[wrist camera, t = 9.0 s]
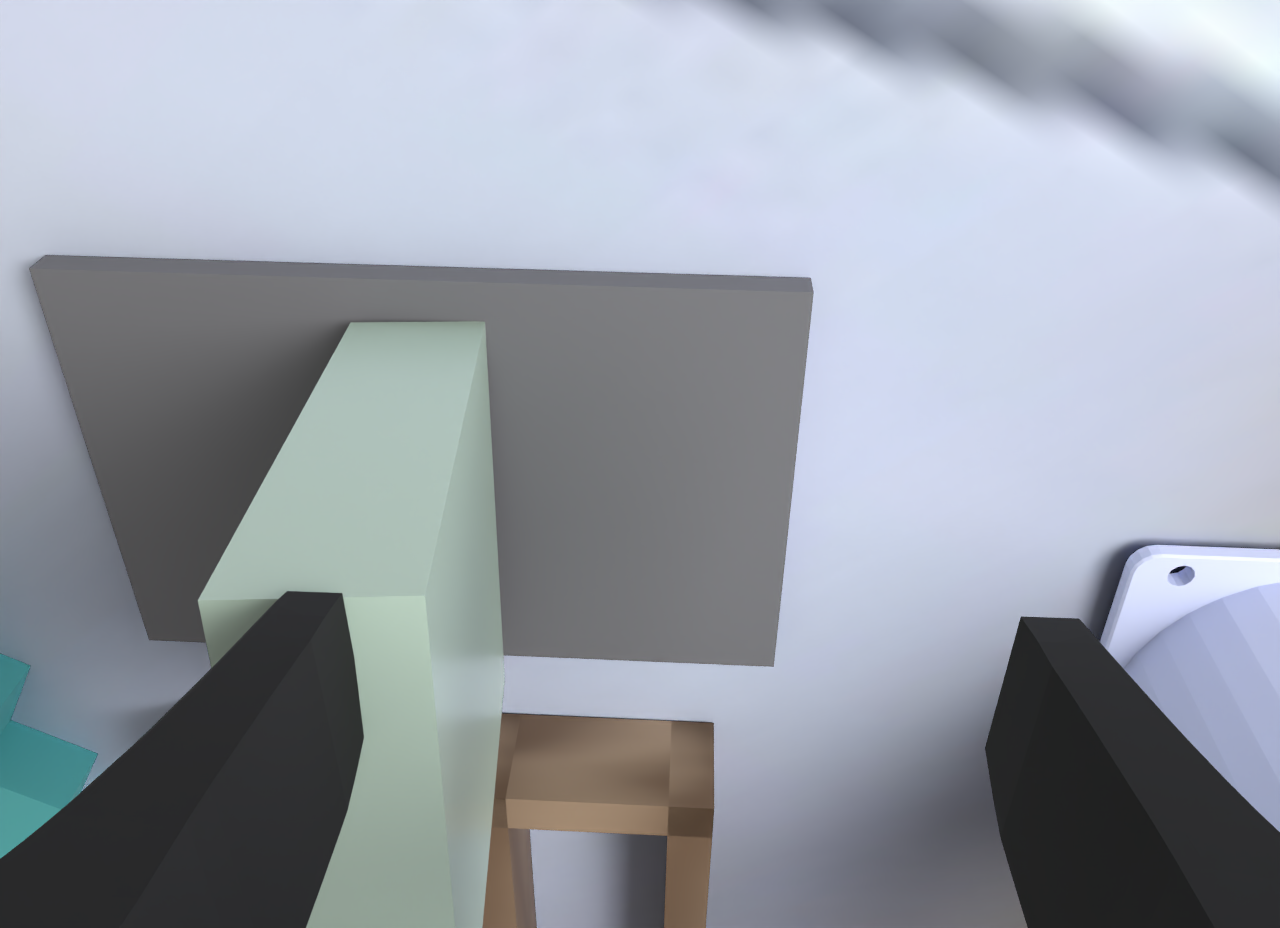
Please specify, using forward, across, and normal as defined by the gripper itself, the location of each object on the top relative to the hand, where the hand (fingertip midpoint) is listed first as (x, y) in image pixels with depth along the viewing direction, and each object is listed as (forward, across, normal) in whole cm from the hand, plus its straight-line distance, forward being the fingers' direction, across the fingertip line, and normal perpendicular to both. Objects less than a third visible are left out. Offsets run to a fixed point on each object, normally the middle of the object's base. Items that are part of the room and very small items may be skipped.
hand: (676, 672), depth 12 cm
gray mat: (+10, +5, +4) cm, 11 cm away
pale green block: (+8, +5, +4) cm, 11 cm away
